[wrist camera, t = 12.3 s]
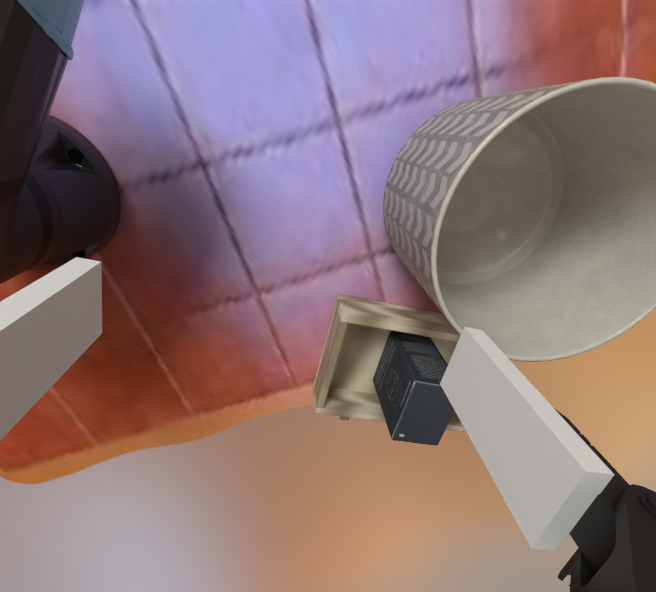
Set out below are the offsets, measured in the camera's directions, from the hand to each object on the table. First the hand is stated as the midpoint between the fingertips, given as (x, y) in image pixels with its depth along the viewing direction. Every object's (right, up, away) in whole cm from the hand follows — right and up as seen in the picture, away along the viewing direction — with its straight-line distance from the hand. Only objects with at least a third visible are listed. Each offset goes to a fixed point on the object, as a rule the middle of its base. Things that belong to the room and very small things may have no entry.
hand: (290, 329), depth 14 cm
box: (+11, -7, +35) cm, 37 cm away
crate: (+10, -6, +35) cm, 37 cm away
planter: (+16, +12, +28) cm, 34 cm away
